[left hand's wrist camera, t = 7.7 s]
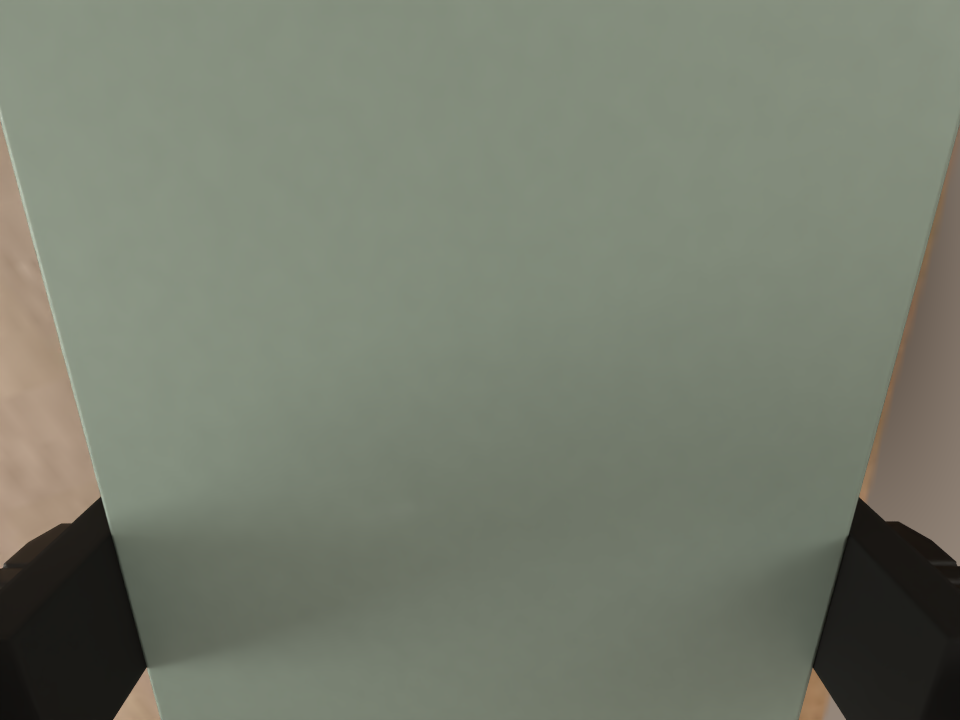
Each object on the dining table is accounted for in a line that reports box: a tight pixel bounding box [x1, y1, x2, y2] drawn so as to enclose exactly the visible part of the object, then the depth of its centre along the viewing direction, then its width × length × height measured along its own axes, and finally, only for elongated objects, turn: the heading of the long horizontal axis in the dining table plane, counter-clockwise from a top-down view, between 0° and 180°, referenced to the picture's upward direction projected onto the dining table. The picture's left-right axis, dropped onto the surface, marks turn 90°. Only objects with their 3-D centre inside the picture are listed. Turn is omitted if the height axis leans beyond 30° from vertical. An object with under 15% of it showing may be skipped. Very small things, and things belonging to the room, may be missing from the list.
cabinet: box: [0, 0, 960, 720], centre depth 11 cm, size 19×11×8 cm, turn 0°
